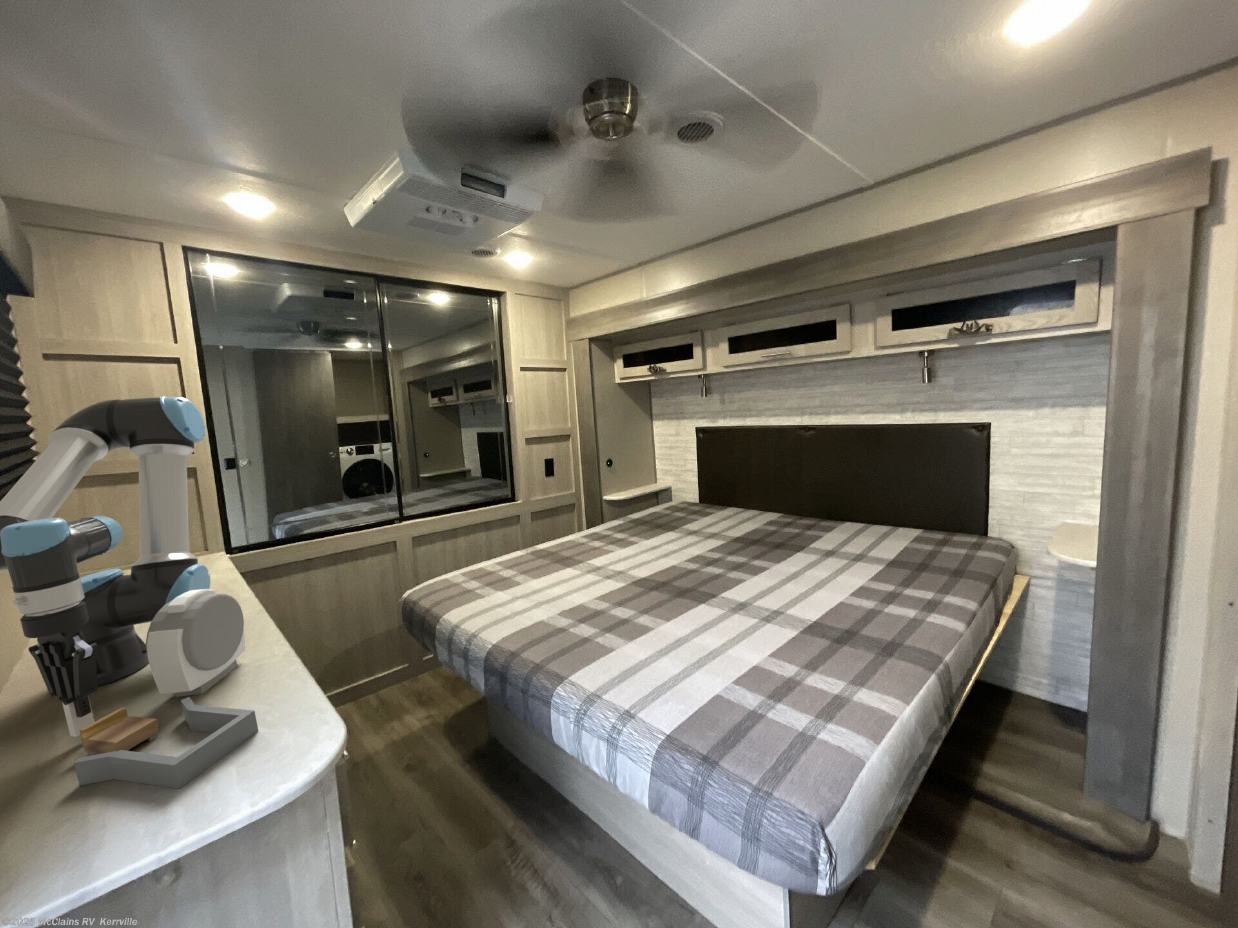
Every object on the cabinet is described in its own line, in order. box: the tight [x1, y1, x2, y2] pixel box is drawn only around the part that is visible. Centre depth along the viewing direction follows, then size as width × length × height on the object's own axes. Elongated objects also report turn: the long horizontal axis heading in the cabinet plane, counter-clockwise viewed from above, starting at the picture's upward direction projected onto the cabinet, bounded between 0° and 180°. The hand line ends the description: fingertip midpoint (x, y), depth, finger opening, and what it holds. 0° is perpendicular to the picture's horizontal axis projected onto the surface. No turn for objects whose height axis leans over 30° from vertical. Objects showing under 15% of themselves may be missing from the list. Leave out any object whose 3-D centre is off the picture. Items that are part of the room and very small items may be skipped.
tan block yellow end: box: [80, 707, 160, 756], centre depth 85 cm, size 8×6×5 cm
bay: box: [73, 696, 259, 789], centre depth 82 cm, size 18×17×4 cm
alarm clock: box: [145, 588, 246, 698], centre depth 103 cm, size 18×8×20 cm, turn 5°
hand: (83, 731), depth 87 cm, fingers closed
